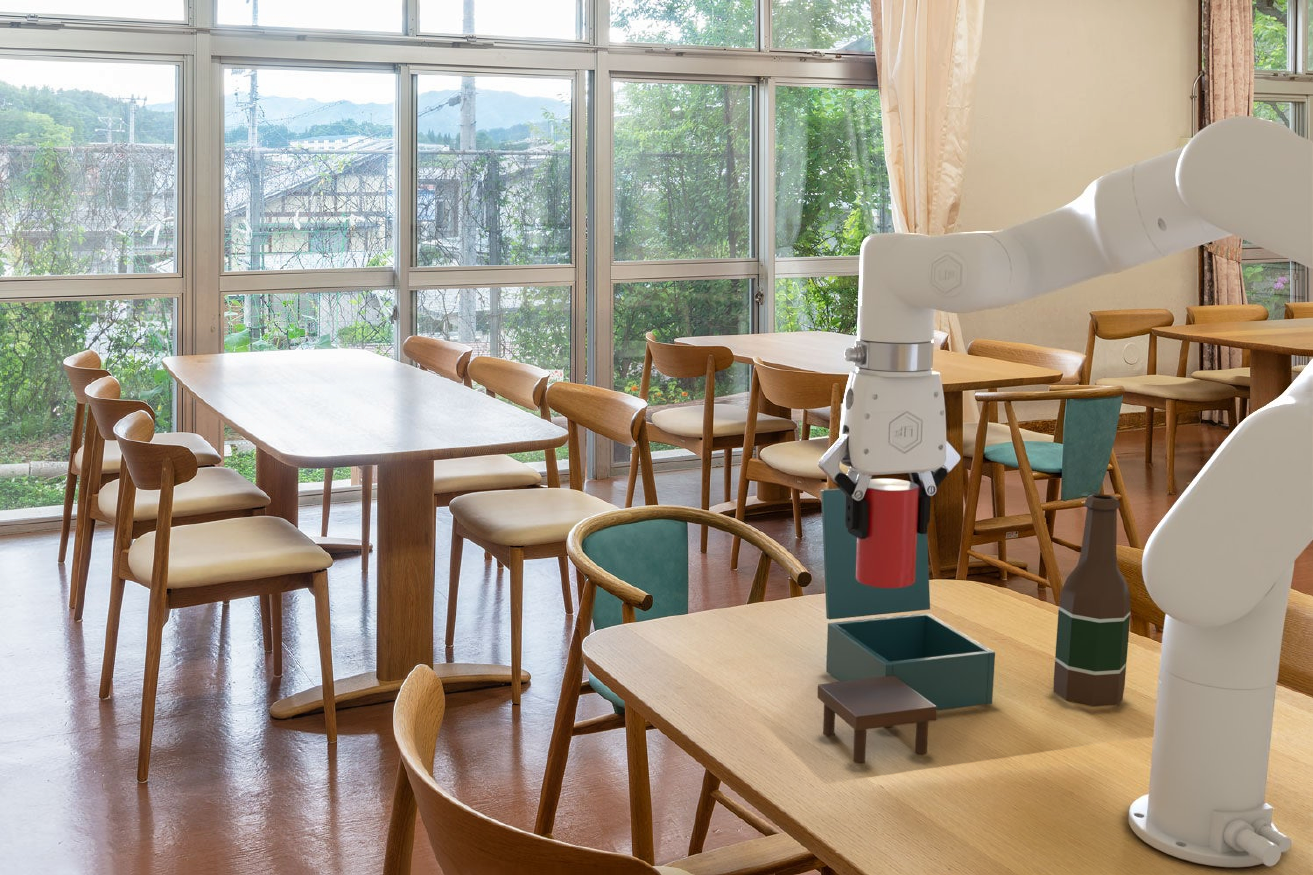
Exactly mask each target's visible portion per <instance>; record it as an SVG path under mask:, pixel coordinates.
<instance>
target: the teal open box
mask: <svg viewBox="0 0 1313 875" xmlns="http://www.w3.org/2000/svg"><path fill="white" fill-rule="evenodd" d="M826 636H827V638H826V662H825V663H826V664H825V666H826V667H825V668H826V669H825V671H826V673H828V675H830V676H831V677H833V678H834V679H835V680H836V681H837V682H844V681H852V680H861V679H869V678H878V677H886V676H895V677H896V678H898V679H899V680H901V681H902V682H903V683H905V684H906V685H907V686H909V687H910V688H912V689H913V690H914V691H916V692H917V693H919V694H920V695H921V696H923V697H924V698H926V699H927V700H928V701H930V702H931V703H932V704H934V705H935V706H937V712H938V711H945V710H953V709H960V708H961V709H963V708H969V707H976V706H977V707H978V706H985V705H992V704H993V697H994V696H993V695H994V681H995V680H994V677H995V662H996V652H995V651H993V650H992V649H990V648H988V647H987V646H985V645H983V644H982V643H980V642H978V641H977V640H975V639H973V638H971V637H970V636H968V635H966V634H965V633H963V632H962V631H960V630H958V629H957V628H955V627H953V626H951V625H950V624H948V623H946V622H945V621H944V620H942V619H939V618H938V617H937V616H935V615H933V614H931V613H929V612H925V613H913V614H903V615H895V616H894V615H893V616H884V617H883V616H882V617H873V618H866V619H854V620H853V619H852V620H845V621H834V622H828V623H827V634H826Z"/></svg>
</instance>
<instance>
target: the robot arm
mask: <svg viewBox="0 0 1313 875" xmlns="http://www.w3.org/2000/svg"><path fill="white" fill-rule="evenodd" d="M1232 236H1235V237H1237V238H1239V239H1241V240H1243V241H1246V242H1248V243H1250V244H1252V245H1255V246H1256V247H1258V248H1259V247H1260V248H1261V249H1265V250H1267V251H1269V252H1272V253H1274V254H1276V255H1279V256H1281V257H1284V258H1286V259H1288V260H1290V261H1293V262H1295V263H1297V264H1300V265H1302V266H1304V267H1307V268H1309V269H1311V270H1313V140H1311V139H1308V138H1306V137H1304V136H1302V135H1299V134H1297V133H1296V132H1295V130H1292V129H1291V128H1289V127H1288V126H1287V125H1284V124H1282V123H1280V122H1276V121H1274V120H1269V119H1265V118H1262V117H1258V116H1251V115H1250V116H1249V115H1236V116H1229V117H1226V118H1222V119H1219V120H1217V121H1214V122H1212V123H1210V124H1207V126H1205V127H1204V128H1202V129H1200V130H1199V131H1198V132H1197V133H1196V134H1195V135H1193V137H1192V138H1190V140H1189V141H1188V142H1187V143H1186V144H1185V145H1183V146H1180V147H1177V148H1175V149H1173V150H1170V151H1166V152H1164V153H1162V154H1159V155H1156V156H1153V157H1151V158H1148V159H1145V160H1143V161H1140V162H1136V163H1133V164H1131V165H1128V166H1126V167H1122V168H1120V169H1117V170H1114V171H1110V172H1108V173H1106V174H1103V175H1102V176H1100V177H1098V178H1097V179H1095V180H1093V181H1092V182H1091V183H1090V184H1089V185H1088V186H1087V188H1086V189H1085V190H1084V192H1083V193H1081V195H1080V196H1078V197H1077V198H1076V199H1074V200H1073V201H1071V202H1069V203H1067V204H1065V205H1063V206H1061V207H1058V208H1057V209H1055V210H1052V211H1049V212H1047V213H1043V214H1042V215H1039V216H1036V217H1033V218H1031V219H1028V220H1025V221H1022V222H1019V223H1017V224H1013V225H1011V226H1009V227H1008V226H1007V227H1005V228H1002V229H998V230H994V231H992V230H989V231H987V230H986V231H970V232H969V231H968V232H967V231H966V232H952V233H946V234H939V235H937V234H936V235H931V236H930V235H928V234H926V233H925V234H924V233H918V232H917V233H916V232H915V233H914V232H913V233H912V232H878V233H872V234H869V235H868V236H866V237H865V238H864V239H863V241H862V243H861V245H860V252H859V272H858V273H859V274H858V275H859V276H858V300H857V301H858V302H857V331H856V332H857V334H856V338H857V339H855V341H854V346H852V347H847V348H845V350H844V359H845V361H846V362H853V363H854V367H855V370H850V373H849V376H848V380H847V383H846V387H845V392H844V396H843V397H844V398H843V402H842V409H841V415H840V425H839V438H838V439H837V440H836V441H835V442H834V443H833V444H832V446H831V447H830V448H829V449H828V450H827V451H826V452H825V453H824V454H823V455H822V456H821V458H820V459H819V460H818V461H817V466H818V468H820V470H821V471H822V472H823V473H824V474H825V475H826V476H827V477H828V478H829V479H830V480H831V482H832V483H833V484H834V485H835V486H836V487H837V489H840V490H841V491H842V493H843V494H844V495H846V515H845V524H846V527H847V528H848V532H849V533H850V534H852V535H853V536H855V537H857V538H859V539H866V537H867V536H868V513H869V502H868V501H867V500H865V499H864V495H865V492H866V490H867V487H868V485H869V482H870V480H871V479H872V478H873V476H878V475H894V474H895V475H897V474H908V475H909V479H910V482H913V483H915V484H917V485H918V486H919V501H918V523H917V533H919V534H926V533H927V534H928V524H929V523H930V521H931V520H930V519H931V504H932V501H931V500H932V496H934V495H936V493H937V490H938V487H939V486H940V485H941V484H942V483H943V481H944V480H945V479H946V478H947V477H948V473H950V472H951V471H952V470H953V469H954V468H955V467H956V466H957V464H959V463H960V461H961V455H960V454H959V453H958V452H957V450H956V449H955V448H954V447H953V445H952V444H951V443H950V442H949V441H948V440H947V418H946V416H947V415H946V404H945V395H944V389H943V382H942V377H941V372H939V371H935V370H933V363H934V360H933V359H934V340H935V320H936V311H941V312H945V313H949V314H950V313H951V314H968V313H974V312H975V313H976V312H980V311H985V310H994V309H1000V308H1005V307H1009V306H1013V305H1016V304H1019V303H1023V302H1026V301H1029V300H1032V299H1036V298H1038V297H1041V296H1044V295H1047V294H1050V293H1053V292H1056V291H1059V290H1060V291H1061V290H1063V289H1066V288H1069V287H1072V286H1075V285H1078V284H1081V283H1084V282H1088V281H1090V280H1093V279H1096V278H1099V277H1102V276H1107V275H1112V274H1118V273H1121V272H1124V271H1127V270H1129V269H1131V268H1135V267H1139V266H1142V265H1145V264H1147V263H1150V262H1154V261H1157V260H1159V259H1162V258H1166V257H1168V256H1171V255H1174V254H1177V253H1180V252H1184V251H1187V250H1189V249H1193V248H1196V247H1199V246H1202V245H1206V244H1210V243H1212V242H1215V241H1219V240H1223V239H1226V238H1229V237H1232ZM840 463H841V464H842V465H843V466H846V467H848V468H849V469H848V471H847V473H846V474H845V472H844V471H843V470H842V468H840ZM1168 510H1169V511H1167V513H1166V514H1165V515H1164V517H1163V518H1162V519H1161V520H1160V522H1159V523H1158V524H1157V526H1156V527H1155V528H1154V530H1153V531H1152V533H1151V534H1150V535H1149V537H1148V540H1147V542H1146V543H1145V546H1144V549H1143V553H1142V559H1141V560H1142V561H1141V574H1142V580H1143V583H1144V586H1145V589H1146V591H1147V593H1148V595H1149V596H1150V598H1151V600H1152V601H1153V603H1154V604H1155V605H1156V606H1157V608H1158V609H1159V610H1160V611H1162V612H1163V613H1164V614H1165V615H1164V623H1163V629H1162V638H1161V648H1160V661H1159V668H1158V680H1157V690H1156V691H1157V692H1156V701H1155V702H1156V703H1155V713H1154V714H1155V715H1154V725H1153V736H1152V737H1153V738H1152V750H1151V762H1150V773H1149V785H1148V786H1149V787H1148V793H1146V794H1144V795H1142V796H1140V797H1138V798H1137V799H1134V800H1133V802H1131V803H1130V806H1129V810H1128V824H1129V827H1130V829H1131V830H1132V831H1133V832H1134V834H1135V835H1136V836H1137V837H1138V838H1139V839H1140V840H1142V841H1143V842H1144V843H1146V844H1147V845H1148V846H1150V847H1152V848H1154V849H1156V850H1158V851H1160V852H1161V853H1164V854H1166V855H1169V856H1171V857H1174V858H1178V859H1180V860H1183V861H1187V862H1190V863H1194V864H1199V865H1203V866H1204V865H1205V866H1211V867H1220V868H1246V867H1247V868H1248V867H1255V866H1258V865H1262V864H1263V865H1265V867H1273V866H1276V865H1277V864H1278V862H1279V861H1280V860H1281V857H1282V853H1286V852H1288V851H1289V850H1290V849H1291V846H1292V839H1291V838H1290V837H1289V836H1288V835H1286V834H1284V833H1282V832H1280V831H1279V829H1278V828H1277V827H1276V825H1275V823H1273V816H1274V815H1273V814H1274V806H1272V805H1271V804H1268V803H1267V802H1265V800H1266V789H1267V780H1268V772H1269V771H1268V770H1269V761H1270V760H1269V759H1270V751H1271V750H1270V749H1271V740H1272V730H1273V722H1274V721H1273V720H1274V712H1275V703H1276V702H1275V701H1276V693H1277V691H1276V690H1277V682H1278V679H1279V670H1280V660H1281V653H1282V652H1281V651H1282V644H1283V634H1284V628H1285V620H1286V616H1287V615H1286V614H1287V610H1288V603H1289V598H1290V593H1291V587H1292V582H1293V576H1294V570H1295V561H1296V560H1297V559H1298V558H1299V556H1300V555H1301V554H1302V553H1303V552H1304V550H1305V549H1306V548H1308V546H1309V545H1310V544H1311V543H1312V541H1313V358H1312V359H1311V360H1310V361H1309V363H1308V364H1307V365H1306V366H1305V368H1304V369H1303V370H1302V371H1301V372H1300V374H1299V375H1298V376H1297V377H1296V378H1295V379H1294V381H1293V382H1292V383H1291V384H1290V385H1289V386H1288V387H1287V389H1286V390H1285V391H1284V392H1283V393H1282V394H1281V395H1279V396H1278V397H1276V398H1275V399H1274V400H1273V401H1271V402H1269V403H1268V404H1266V405H1265V406H1263V407H1261V408H1259V409H1257V410H1256V411H1254V412H1253V413H1251V414H1250V415H1249V416H1247V417H1246V418H1244V419H1243V420H1242V421H1241V422H1240V423H1239V424H1238V425H1237V426H1236V427H1235V428H1234V429H1233V430H1232V432H1230V434H1229V435H1228V436H1227V437H1226V438H1225V439H1224V441H1223V442H1222V443H1221V444H1220V446H1219V447H1218V448H1216V450H1215V452H1214V453H1213V454H1212V456H1211V457H1210V458H1209V459H1208V461H1207V462H1206V463H1205V465H1204V466H1203V467H1202V468H1201V469H1200V471H1199V472H1198V473H1197V475H1196V476H1195V477H1194V478H1193V480H1192V481H1191V483H1189V485H1188V486H1187V487H1186V489H1185V490H1184V491H1183V493H1182V494H1181V495H1180V496H1179V498H1178V499H1177V500H1176V502H1175V503H1174V504H1173V505H1172V507H1171V508H1170V509H1168Z"/></svg>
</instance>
